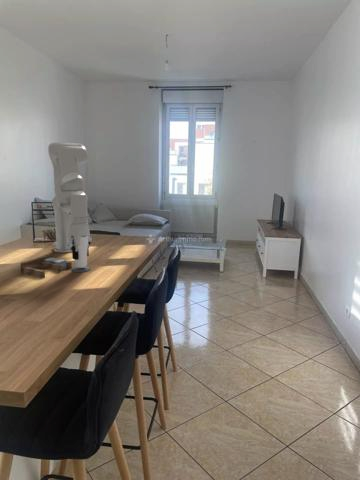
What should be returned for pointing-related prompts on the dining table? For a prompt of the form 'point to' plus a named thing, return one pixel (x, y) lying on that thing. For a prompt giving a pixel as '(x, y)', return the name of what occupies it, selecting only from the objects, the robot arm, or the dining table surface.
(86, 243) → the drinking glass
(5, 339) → the dining table surface
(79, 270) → the felt coaster
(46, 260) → the walnut cubby
